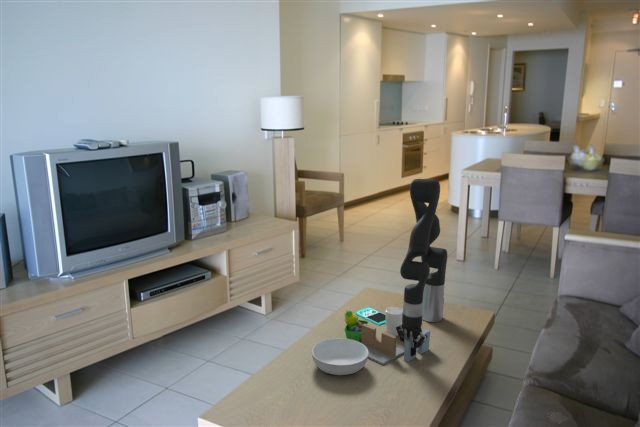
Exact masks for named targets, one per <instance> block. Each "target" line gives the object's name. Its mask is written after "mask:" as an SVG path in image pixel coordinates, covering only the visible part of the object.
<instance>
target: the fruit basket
mask: <svg viewBox="0 0 640 427" xmlns="http://www.w3.org/2000/svg"><path fill="white" fill-rule="evenodd" d="M344 321H345V327H344V328H343V331H344V333H345V337H346V339H351V340H355V341H358V342H361V339H362V325H363V324H367V325H369V324H368V323H369V322H368V320H362V319H359V317H358V315H356V313H354V312H353V311H351V310H350V309H349V310H346V311H345V313H344Z"/></svg>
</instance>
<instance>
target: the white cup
mask: <svg viewBox="0 0 640 427" xmlns="http://www.w3.org/2000/svg"><path fill="white" fill-rule="evenodd" d="M384 312H385V315H386V317H385V321H386V323H385V332H386V333H388V334H391V335H393V336H396V337H397V336H398V337H399V335H398V333H397V330H396V327H397V326H399V325H402V312H403V308H401V307H399V306H397V307H396V306H389V307H386V308H385V311H384Z"/></svg>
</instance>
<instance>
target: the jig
mask: <svg viewBox="0 0 640 427" xmlns="http://www.w3.org/2000/svg"><path fill="white" fill-rule="evenodd" d="M380 338H381V339H379V338H377V328H376V327H374V326H372V325H369V324H363V325H362V338H361V340H360V343H362V344H363V345H365V346H366V347H367V349H368V352H369V355H368V359H369V360H371V361H374V362H376V363H378V364H379V365H382V366H384V365H385V364H387V363H390V362H391V361H393V360H396V358H398V357H400V356H401V355H404V349H402V348H400V347H397V341H398V340H397V339H398V338H397V336H393V335H391V334H388V333H386V331H382V332H381V336H380Z"/></svg>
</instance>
